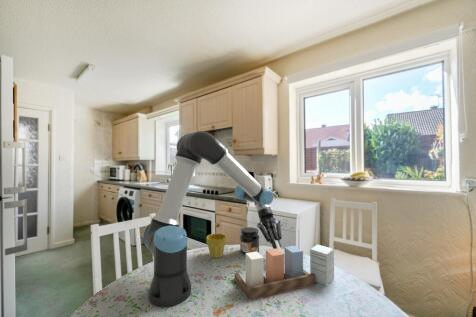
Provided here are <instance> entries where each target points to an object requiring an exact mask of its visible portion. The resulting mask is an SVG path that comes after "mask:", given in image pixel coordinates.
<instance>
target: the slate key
mask: <svg viewBox="0 0 476 317" xmlns="http://www.w3.org/2000/svg"><path fill="white" fill-rule="evenodd" d="M303 269H304V250H303V249H300V248H299V247H297V246H296V245H290V246H284V273H285V274H286V275H287V276H288V277H289V278H293V277H298V276H303Z"/></svg>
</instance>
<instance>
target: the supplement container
mask: <svg viewBox="0 0 476 317" xmlns="http://www.w3.org/2000/svg"><path fill="white" fill-rule="evenodd" d="M239 251H240V253H241V254H242V255H244V256H246V253H250V252H258V253H259V252H260V235H259V228H256V227H253V226H252V227H250V226H249V227H243V228H241V229H240V236H239ZM259 254H260V253H259Z"/></svg>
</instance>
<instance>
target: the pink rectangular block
mask: <svg viewBox="0 0 476 317" xmlns="http://www.w3.org/2000/svg"><path fill="white" fill-rule="evenodd" d="M284 273H285V253H284V252H280V251H279V250H278V249H273V248H271V249H266V250H265V278H266V279H267V280H268V281H269V282H274V281H279V280H284Z"/></svg>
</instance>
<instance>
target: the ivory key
mask: <svg viewBox="0 0 476 317" xmlns="http://www.w3.org/2000/svg"><path fill="white" fill-rule="evenodd" d="M264 260H265V259H264V256H262V254H260V253H258V252H250V253H246V255H245V283H246V285H247V286H248V287H251V286H256V285H260V284H264V277H265V276H264V274H265V273H264V268H265V267H264Z"/></svg>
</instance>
